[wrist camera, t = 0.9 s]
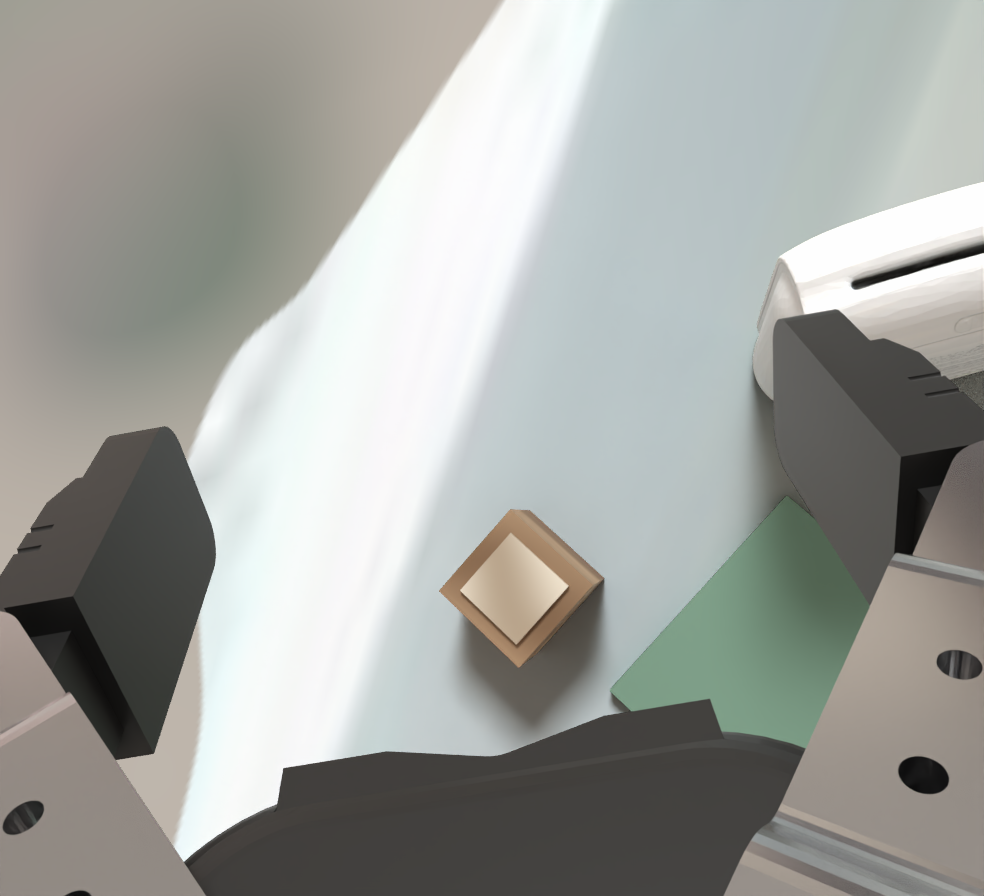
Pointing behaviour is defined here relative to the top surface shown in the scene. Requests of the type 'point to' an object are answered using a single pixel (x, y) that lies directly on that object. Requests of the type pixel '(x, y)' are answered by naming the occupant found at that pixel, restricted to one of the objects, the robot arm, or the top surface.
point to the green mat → (758, 635)
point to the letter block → (521, 585)
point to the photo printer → (892, 282)
